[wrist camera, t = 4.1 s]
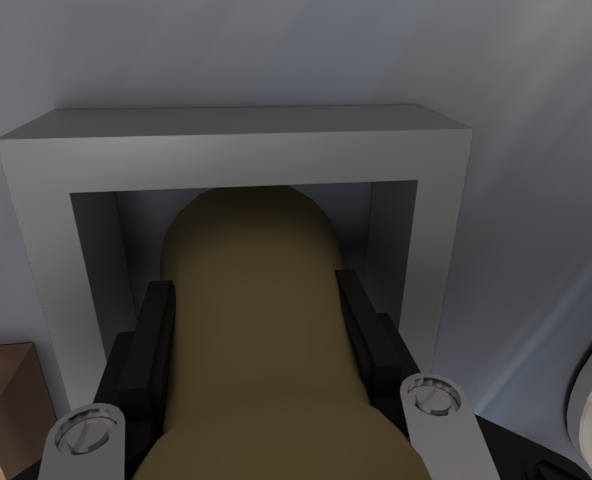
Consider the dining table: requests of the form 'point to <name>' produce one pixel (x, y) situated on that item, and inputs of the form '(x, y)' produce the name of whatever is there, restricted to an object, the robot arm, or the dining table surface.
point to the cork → (265, 351)
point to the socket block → (22, 409)
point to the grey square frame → (228, 173)
